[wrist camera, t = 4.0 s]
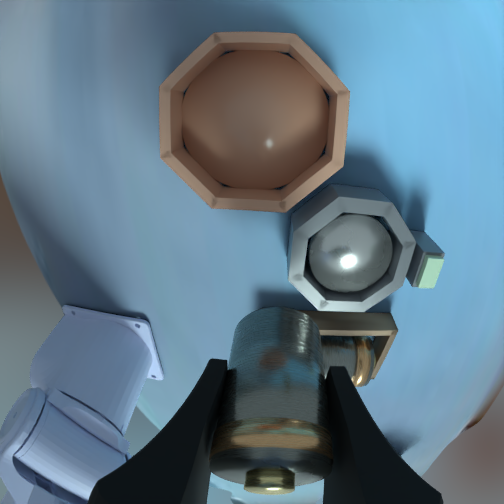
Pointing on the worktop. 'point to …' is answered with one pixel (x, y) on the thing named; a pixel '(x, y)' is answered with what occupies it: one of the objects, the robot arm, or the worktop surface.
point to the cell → (274, 405)
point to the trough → (359, 329)
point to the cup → (253, 121)
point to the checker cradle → (403, 241)
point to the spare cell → (350, 356)
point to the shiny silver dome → (350, 252)
